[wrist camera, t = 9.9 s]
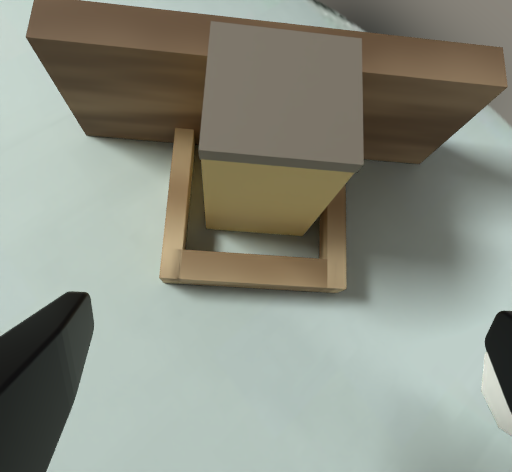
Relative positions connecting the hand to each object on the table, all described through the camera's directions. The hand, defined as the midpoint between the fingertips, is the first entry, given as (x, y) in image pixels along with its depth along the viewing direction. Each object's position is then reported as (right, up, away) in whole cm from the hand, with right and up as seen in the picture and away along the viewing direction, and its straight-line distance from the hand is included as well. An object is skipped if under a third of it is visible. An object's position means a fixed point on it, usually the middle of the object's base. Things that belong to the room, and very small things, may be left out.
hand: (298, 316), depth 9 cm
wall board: (-1, +3, +15) cm, 15 cm away
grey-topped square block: (-1, +4, +15) cm, 16 cm away
